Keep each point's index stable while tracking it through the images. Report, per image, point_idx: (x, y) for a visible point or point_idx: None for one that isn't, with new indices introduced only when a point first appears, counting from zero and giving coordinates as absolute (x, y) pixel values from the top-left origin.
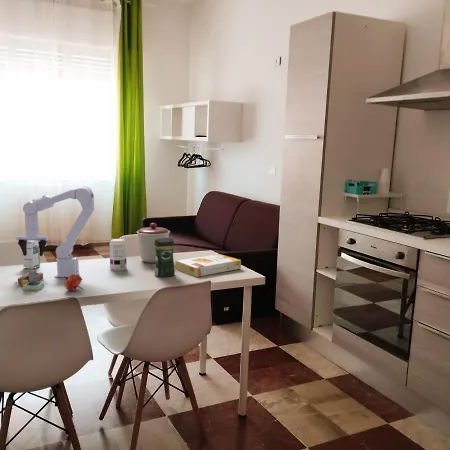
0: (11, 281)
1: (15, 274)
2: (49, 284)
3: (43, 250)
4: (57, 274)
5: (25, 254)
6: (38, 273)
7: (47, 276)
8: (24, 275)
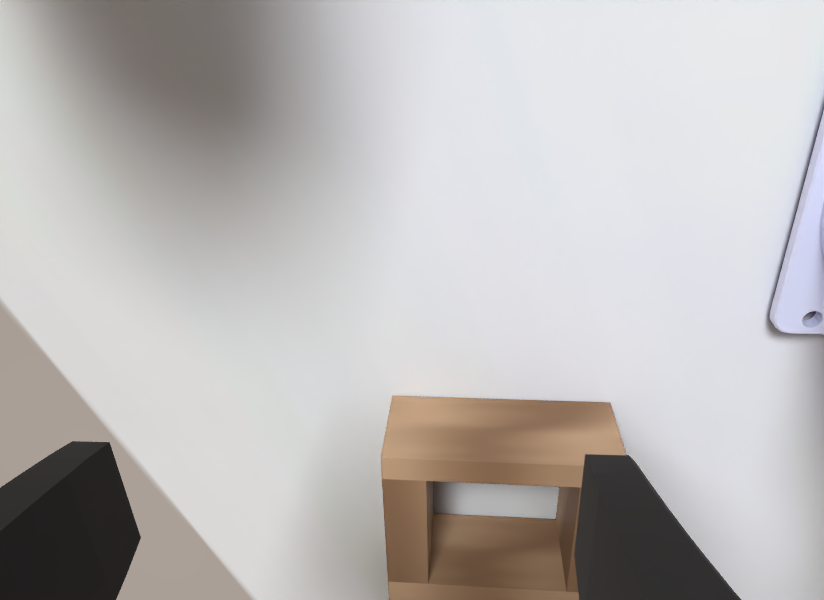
0: (245, 494)
1: (61, 171)
2: (749, 592)
3: (716, 591)
4: (816, 218)
5: (112, 529)
6: (562, 483)
7: (634, 260)
8: (405, 581)
